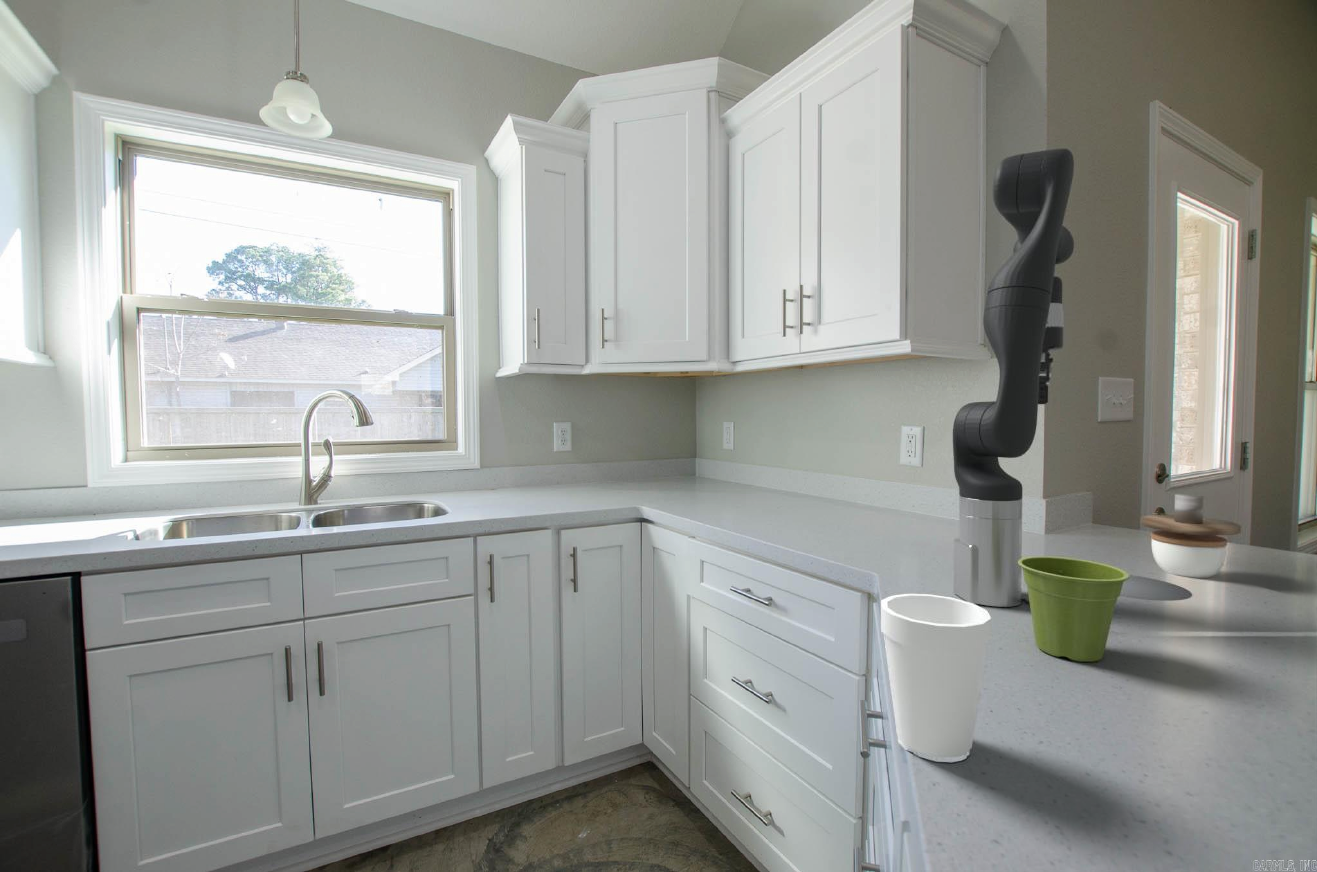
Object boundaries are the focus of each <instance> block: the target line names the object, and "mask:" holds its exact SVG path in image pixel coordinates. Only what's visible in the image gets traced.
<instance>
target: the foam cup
mask: <svg viewBox="0 0 1317 872" xmlns="http://www.w3.org/2000/svg"><path fill="white" fill-rule="evenodd" d="M880 631H881V632H882V634H883V639H884V646H885V656H886V662H887V669H888V678H889V684H890V693H891V699H892V700H891V701H892V707H893V716H894V722H895V729H896V730H895V731H896V736H897V742H898V744H899V745H900V746H901V747H902V748H903V749H904V750H905V751H906V750H907V749H908V748H911V749H913V750H916V751H918V752H922V753H923V754H927V755H931V756H935V757H959V756H962V755H966V754H967V752H969V750H970V749H972V748H973V742H974V736H975V728H976V724H977V723H976V722H977V717H978V711H979V704H980V698H981V693H982V692H981V691H982V685H983V679H984V674H985V673H984V672H985V667H986V659H987V654H988V649H989V648H988V647H989V646H990V645H991V644H992V617H991V615H990V614H989V611H988V610H987V609H985V608H983V607H981V606H979V605H978V604H973V603H970V602H967V601H966V600H963V599H958V598H955V597H949V596H942V595H937V594H930V593H929V594H928V593H903V594H902V593H901V594H895V595H890V596H888V597H886V598H883V599H881V600H880Z"/></svg>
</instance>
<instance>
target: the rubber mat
mask: <svg viewBox="0 0 1317 872" xmlns="http://www.w3.org/2000/svg"><path fill="white" fill-rule="evenodd" d="M1192 595H1193V594H1192V592H1191V591H1190V590H1188V589H1187V588H1185V587H1182V586H1180V585H1178V584H1174V583H1171V582H1167V581H1163V580H1160V579H1155V578H1150V577H1144V576H1139V575H1132V574H1129V579H1127V580H1126V581H1124V582H1123V585H1122V589H1121V593H1120V596H1119V597H1123V598H1127V599H1129V598H1130V599H1134V600H1135V599H1137V600H1146V601H1147V600H1148V601H1160V602H1161V601H1165V602H1166V601H1168V602H1169V601H1183V600H1187V599H1190V598H1191V597H1192Z"/></svg>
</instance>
